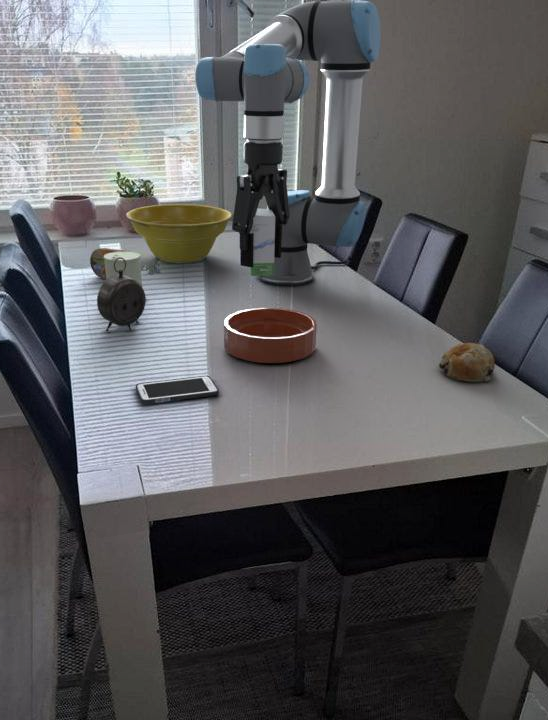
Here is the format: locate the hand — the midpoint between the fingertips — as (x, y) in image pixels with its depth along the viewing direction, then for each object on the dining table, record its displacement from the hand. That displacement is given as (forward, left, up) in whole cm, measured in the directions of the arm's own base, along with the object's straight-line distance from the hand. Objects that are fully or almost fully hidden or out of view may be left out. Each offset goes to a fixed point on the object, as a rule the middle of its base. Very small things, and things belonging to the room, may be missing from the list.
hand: (261, 261), depth 138 cm
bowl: (+2, +4, -18) cm, 18 cm away
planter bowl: (-45, -63, -18) cm, 79 cm away
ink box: (0, 0, -2) cm, 2 cm away
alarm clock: (+12, -30, -18) cm, 37 cm away
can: (-3, -45, -18) cm, 48 cm away
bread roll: (-11, +43, -18) cm, 48 cm away
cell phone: (+31, +3, -18) cm, 36 cm away
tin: (-16, -62, -18) cm, 66 cm away
